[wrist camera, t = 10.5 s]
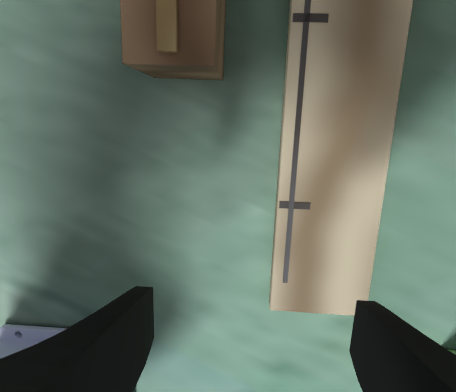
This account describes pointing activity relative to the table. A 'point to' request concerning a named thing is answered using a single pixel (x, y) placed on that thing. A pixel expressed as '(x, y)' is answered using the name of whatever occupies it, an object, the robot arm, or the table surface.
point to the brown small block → (174, 37)
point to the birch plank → (335, 149)
